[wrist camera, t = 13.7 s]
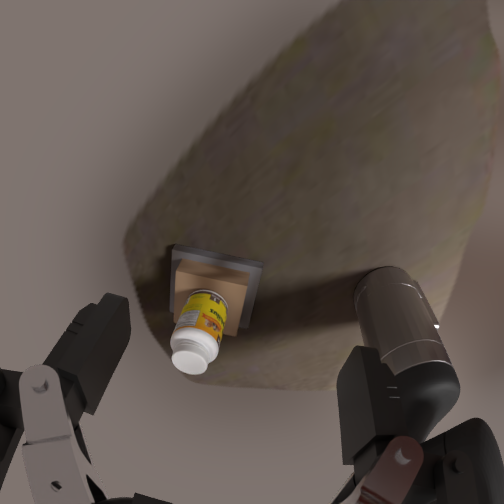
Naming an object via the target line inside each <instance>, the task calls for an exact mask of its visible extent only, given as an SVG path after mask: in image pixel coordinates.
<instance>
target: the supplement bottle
mask: <svg viewBox="0 0 504 504" xmlns="http://www.w3.org/2000/svg"><path fill="white" fill-rule="evenodd" d="M227 314H228V306H227V303H226V301H225V300H224V299H223V298H222V297H221V296H220V295H219V294H217V293H216V292H213V291H210V290H198V291H195V292H193V293H192V294H190V295H189V297H188V298H187V300H186V303H185V305H184V307H183V310H182V312H181V314H180V317H179V319H178V322H177V324H176V327H175V329H174V332H173V334H172V337H171V341H170V344H171V348H172V350H173V354H172V362H173V364H174V365H175V367H176V368H178V369H179V370H181V371H182V372H185V373H188V374H201V373H203V372H204V371H205V370H206V369H207V366H208V363H210V362H212V361H213V360H214V359H215V358H216V357H217V355H218V352H219V347H220V343H221V339H222V335H223V331H224V326H225V322H226V318H227Z"/></svg>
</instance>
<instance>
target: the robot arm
mask: <svg viewBox="0 0 504 504" xmlns="http://www.w3.org/2000/svg"><path fill="white" fill-rule="evenodd" d="M354 304H355V309H356V312H357V316H358V321H359V325H360V329H361V333H362V337H363V342H364V346H355V347H354V348H353V350H352V352H351V354H350V355H349V357H348V359H347V360H346V362H345V364H344V365H343V367H342V369H341V370H340V372H339V375H338V378H337V396H338V406H339V418H340V429H341V442H342V458H343V465H354V472H353V473H352V474H351V475H350V476H349V478H348V479H347V480H346V482H345V483H344V484H343V486H342V487H341V488H340V489H339V491H338V492H337V493H336V494H335V496H334V497H333V498H332V499H331V501H330V502H329V503H328V504H504V466H503V461H502V458H501V454H500V450H499V447H498V445H497V442H496V439H495V437H494V435H493V433H492V430H491V429H490V427H489V426H488V425H487V423H486V422H485V421H484V420H482V419H480V418H472V419H469V420H467V421H465V422H463V423H461V424H459V425H458V426H455V427H454V428H451V429H450V430H448V431H446V432H444V433H442V434H440V435H438V436H436V437H434V438H432V439H429V440H428V441H425V440H426V438H427V436H428V434H429V433H430V432H431V431H432V429H433V428H434V427H435V426H436V424H437V423H438V422H439V421H440V420H441V419H442V418H443V417H444V416H445V415H446V414H447V413H448V412H449V411H450V410H451V409H452V407H453V406H454V405H455V403H456V402H457V400H458V398H459V394H460V384H459V380H458V378H457V375H456V372H455V370H454V368H453V366H452V363H451V361H450V358H449V356H448V354H447V351H446V349H445V347H444V345H443V343H442V340H441V338H440V336H439V334H438V332H437V330H438V329H439V322H438V320H437V318H436V316H435V314H434V312H433V310H432V308H431V306H430V304H429V303H428V301H427V299H426V297H425V295H424V293H423V291H422V289H421V287H420V286H419V284H418V282H416V281H413V280H412V279H411V278H410V276H409V274H407V273H406V272H405V271H404V270H402V269H400V268H396V267H384V268H380V269H377V270H374V271H372V272H371V273H369V274H367V275H366V276H365V277H364V278H363V279H362V280H361V281H360V282H359V283H358V285H357V287H356V289H355V292H354ZM130 334H131V325H130V313H129V302H128V299H127V298H125V297H122V296H118V295H115V294H111V293H106V294H105V295H104V296H103V298H102V299H101V301H100V302H99V303H98V305H96V304H93V303H90V304H89V305H88V306H86V307H84V308H83V309H81V310H80V311H79V312H78V314H77V315H76V317H75V318H74V319H73V321H72V323H70V325H69V326H68V328H67V329H66V331H65V332H64V333H63V335H62V336H61V338H60V339H59V341H58V342H57V344H56V345H55V346H54V348H53V349H52V351H51V352H50V354H49V355H48V357H47V358H46V360H45V361H44V363H43V364H42V365H34V366H31V367H29V368H28V369H26V370H25V371H24V372H17V371H11V370H4V369H1V368H0V490H1V487H2V484H3V481H4V478H5V476H6V473H7V471H8V468H9V465H10V463H11V460H12V458H13V455H14V453H15V450H16V448H17V446H18V443H19V441H20V438H21V436H22V434H23V432H24V430H25V435H26V443H25V444H23V446H22V454H23V459H24V464H25V469H26V473H27V477H28V481H29V485H30V489H31V492H32V496H33V499H34V502H35V504H172V503H170V502H166V501H162V500H158V499H155V498H151V497H148V496H145V495H141V494H138V493H135V494H134V497H133V498H129V497H123V498H122V497H120V498H111V499H109V497H108V494H107V492H106V490H105V487H104V485H103V483H102V481H101V479H100V477H99V475H98V473H97V471H96V469H95V466H94V463H93V461H92V458H91V455H90V452H89V449H88V446H87V443H86V440H85V436H84V433H83V430H82V426H81V423H80V418H81V416H82V414H83V412H86V413H89V414H91V415H94V413H95V411H96V409H97V406H98V405H99V402H100V400H101V398H102V396H103V394H104V392H105V390H106V388H107V385H108V383H109V381H110V379H111V377H112V375H113V373H114V371H115V369H116V367H117V365H118V363H119V361H120V359H121V357H122V355H123V353H124V351H125V349H126V347H127V345H128V342H129V339H130ZM424 441H425V442H424Z"/></svg>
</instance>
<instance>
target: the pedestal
mask: <svg viewBox="0 0 504 504" xmlns="http://www.w3.org/2000/svg"><path fill="white" fill-rule="evenodd" d="M262 270H263V262H258V261H254V260H249V259H244V258H239V257H235V256H230V255H225V254H220V253H216V252H211V251H206V250H201V249H197V248H192V247H187V246H182V245H178V244H175V246H174V247H173V249H172V261H171V282H170V312H172V313H174V323H177V322H178V319H179V317H180V314H181V312H182V310H183V307H184V305H185V303H186V300H187V298H188V297H189V295H190V294H192V293H193V292H195V291H198V290H210V291H213V292H216V293H217V294H219V295H220V296H221V297H222V298H223V299H224V300H225V301H226V303H227V306H228V314H227V318H226V322H225V326H224V331H223V334H226V335H230V336H235V337H236V335H237V331H238V327H239V328H244V329H248V326H249V322H250V318H251V314H252V310H253V306H254V302H255V298H256V294H257V290H258V286H259V282H260V278H261V274H262Z"/></svg>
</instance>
